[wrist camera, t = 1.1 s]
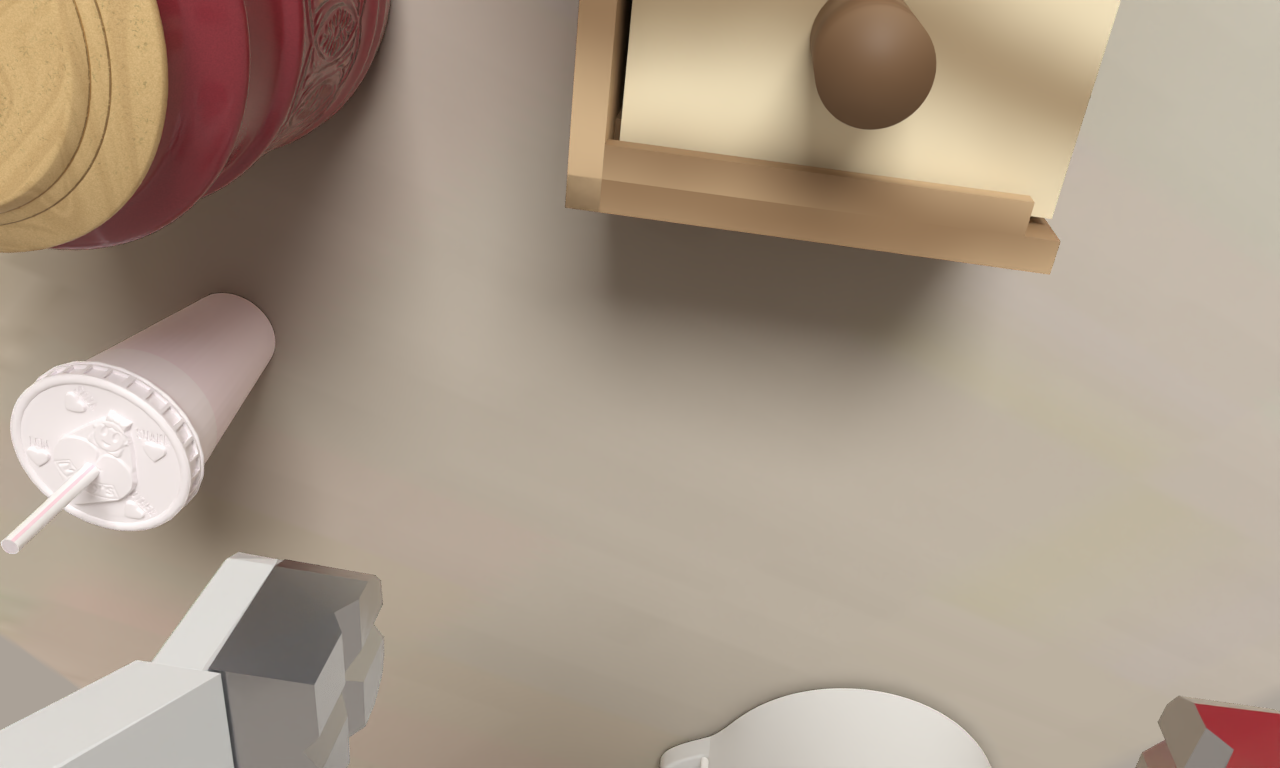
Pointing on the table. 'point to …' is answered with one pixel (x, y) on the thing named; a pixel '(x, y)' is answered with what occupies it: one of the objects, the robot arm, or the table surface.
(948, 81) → the lid
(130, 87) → the canister
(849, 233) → the lid box
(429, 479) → the table surface
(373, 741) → the table surface
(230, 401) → the smoothie
